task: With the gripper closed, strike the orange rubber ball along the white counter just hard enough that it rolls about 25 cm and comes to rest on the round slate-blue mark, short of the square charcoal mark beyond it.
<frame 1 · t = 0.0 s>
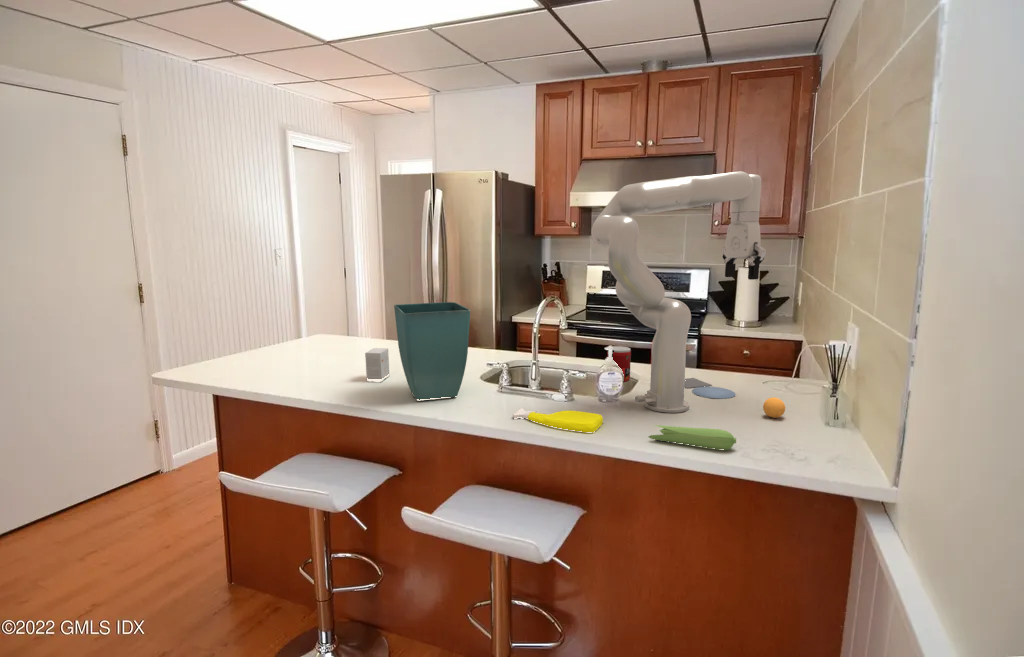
hand: (741, 278, 163), 37 cm above the table, tool pointing down, fingers open, 9 cm apart
canned food: (618, 379, 192), on the table
spray bottle: (555, 424, 150), on the table
ball: (774, 407, 151), on the table
flower pot: (434, 395, 175), on the table
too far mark: (690, 383, 186), on the table
small box: (378, 380, 195), on the table
edible corn: (690, 446, 133), on the table
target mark: (713, 392, 175), on the table
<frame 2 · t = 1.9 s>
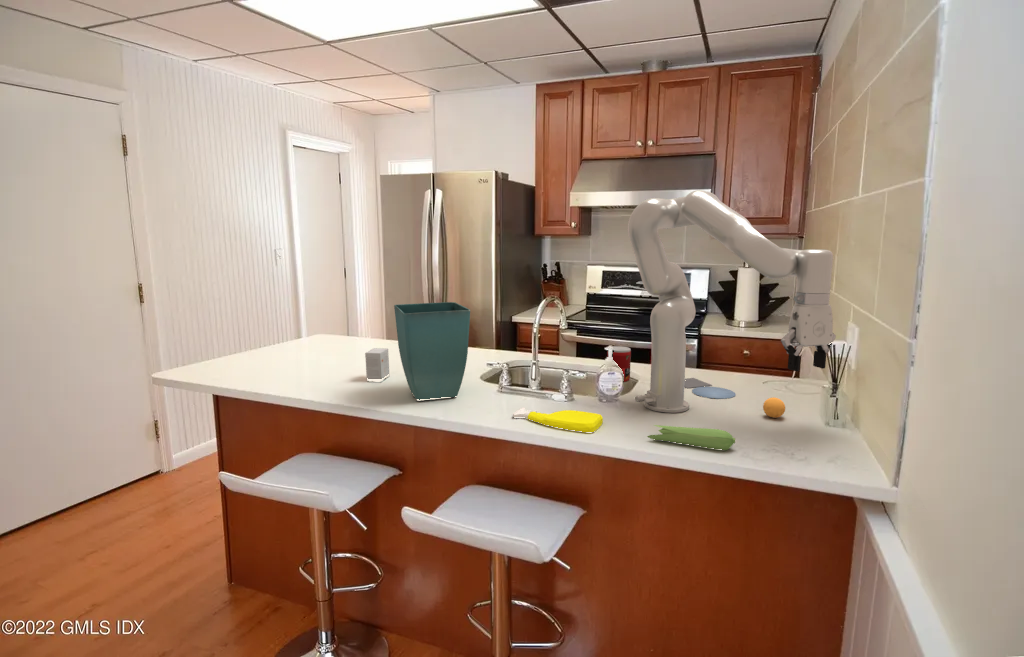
hand: (806, 368, 140), 16 cm above the table, tool pointing down, fingers open, 7 cm apart
nothing on the table moved.
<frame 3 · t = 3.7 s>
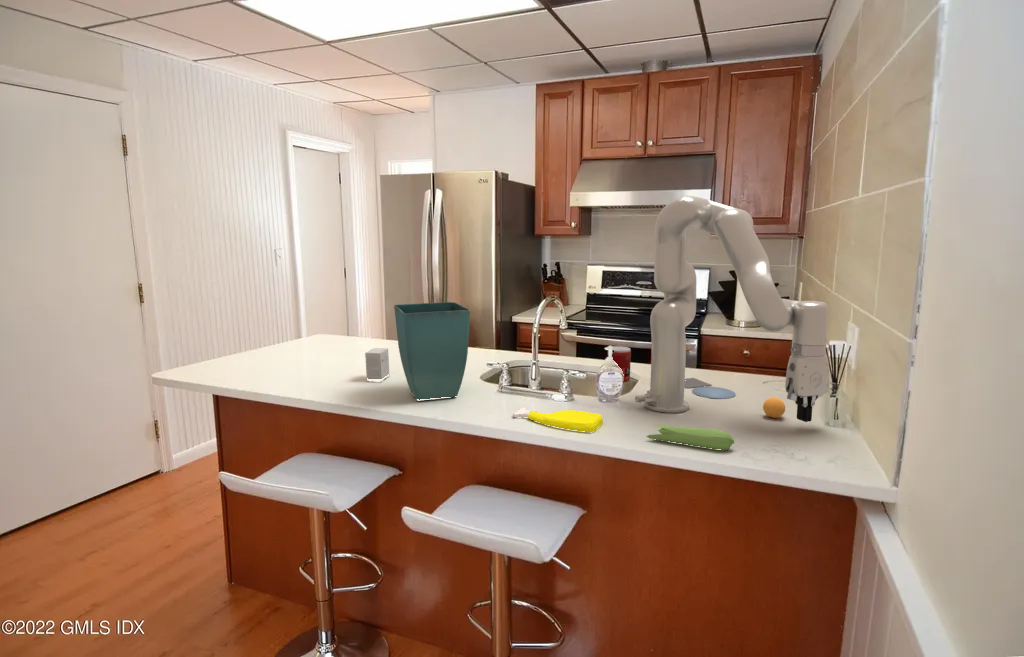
hand: (803, 419, 142), 2 cm above the table, tool pointing down, fingers closed
nothing on the table moved.
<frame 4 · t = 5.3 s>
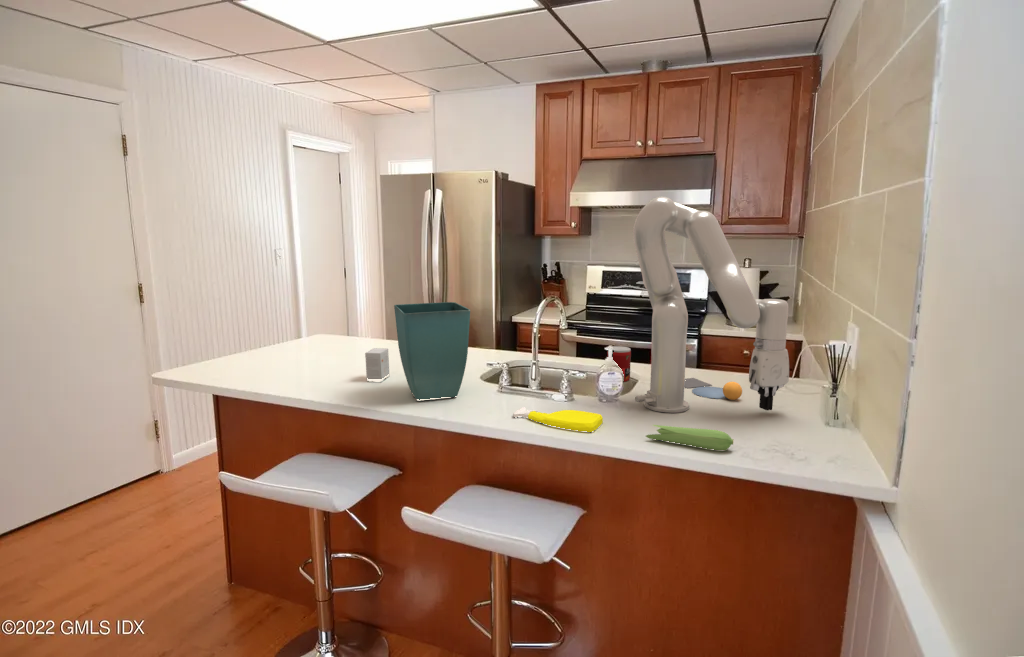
hand: (765, 408, 154), 1 cm above the table, tool pointing down, fingers closed
ball: (732, 390, 167), on the table
everything else where it was.
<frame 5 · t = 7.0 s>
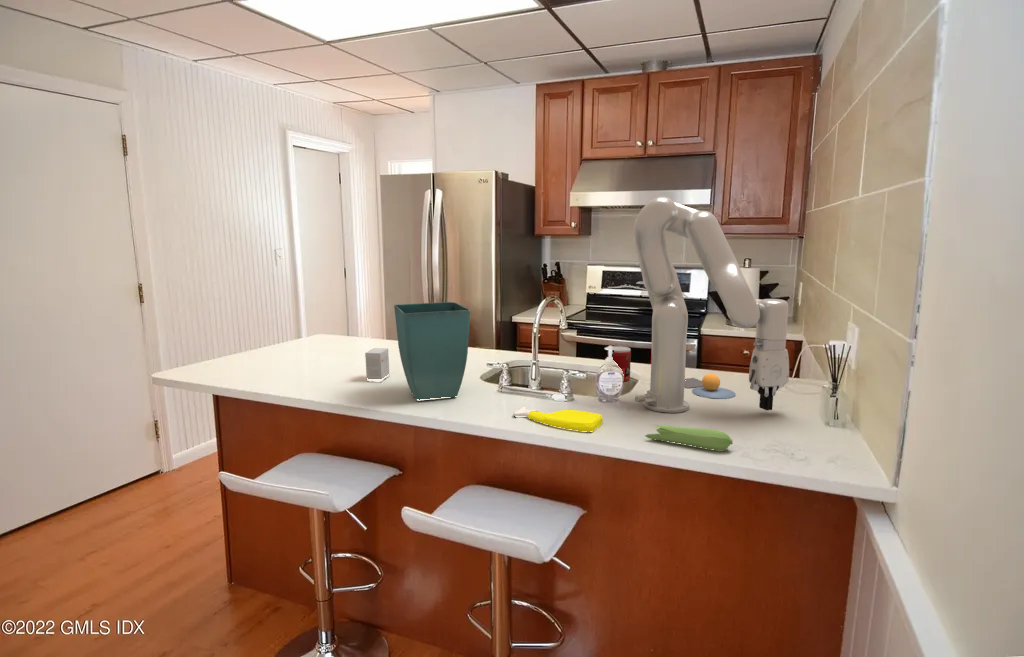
hand: (765, 408, 154), 1 cm above the table, tool pointing down, fingers closed
ball: (710, 382, 177), on the table
everything else where it was.
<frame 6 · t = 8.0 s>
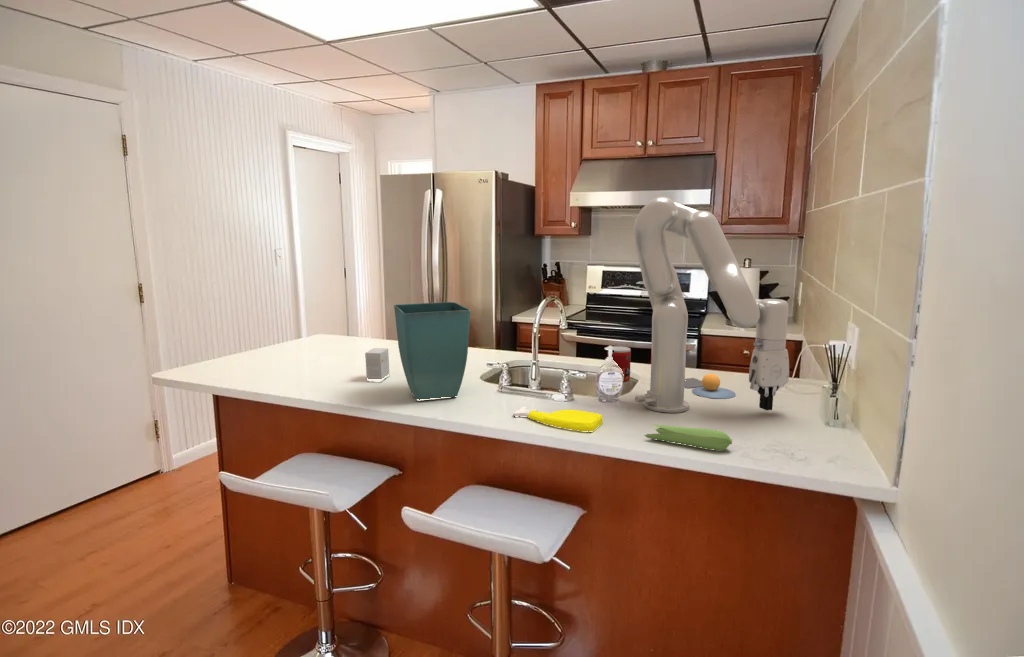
hand: (765, 408, 154), 1 cm above the table, tool pointing down, fingers closed
nothing on the table moved.
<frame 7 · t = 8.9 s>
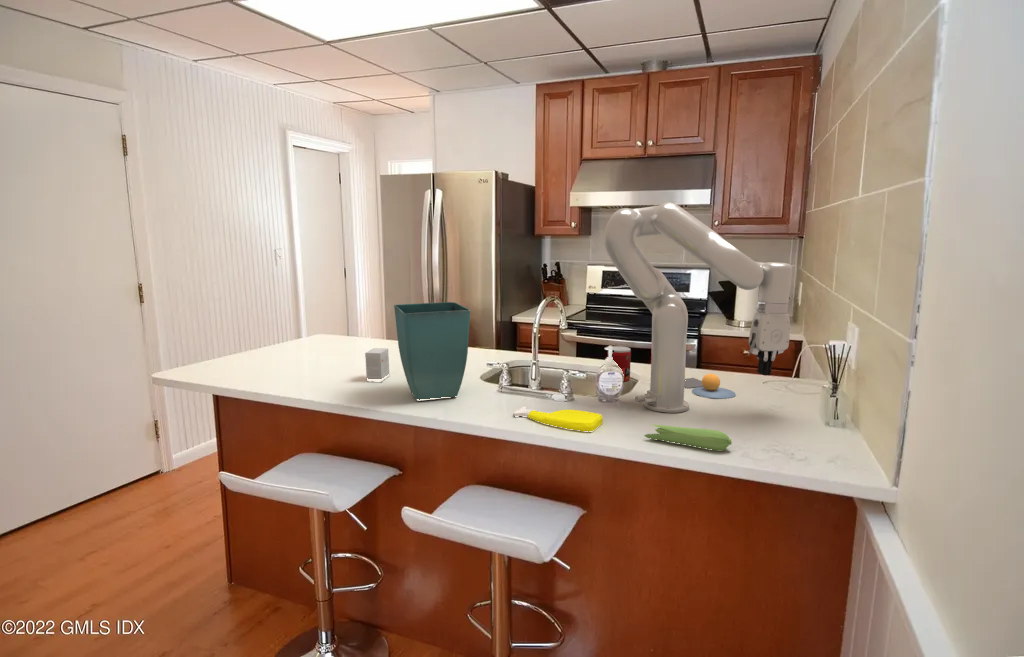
hand: (763, 373, 153), 11 cm above the table, tool pointing down, fingers closed
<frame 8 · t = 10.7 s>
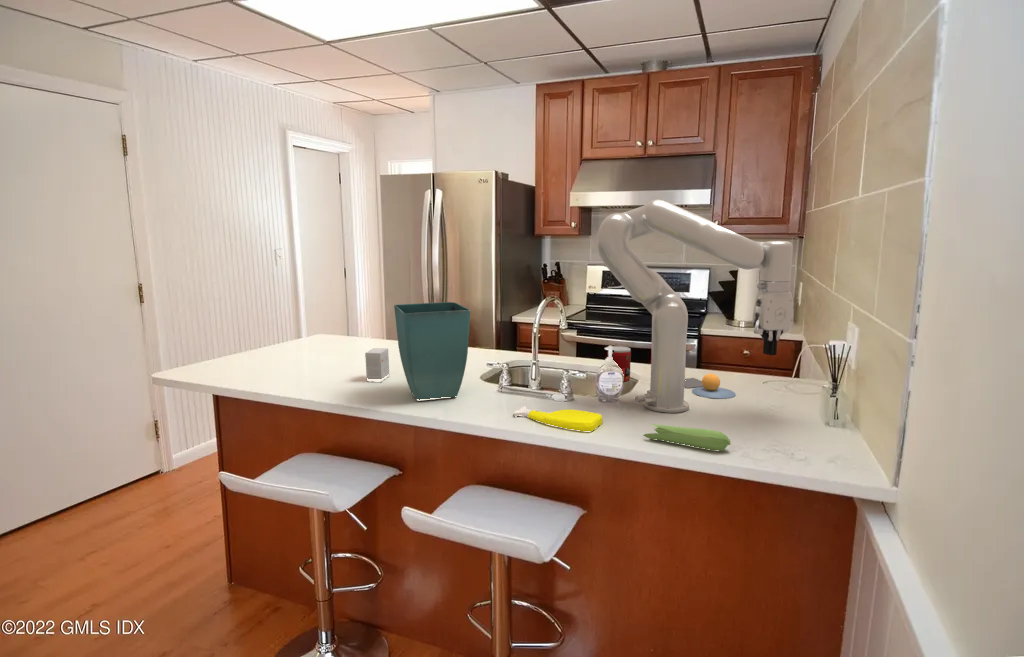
hand: (769, 354, 151), 17 cm above the table, tool pointing down, fingers closed
at the end: ball 2.7 cm from the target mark (horizontally); ball at rest at the end (0.0 cm/s); ball moved 27.6 cm from its start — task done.
